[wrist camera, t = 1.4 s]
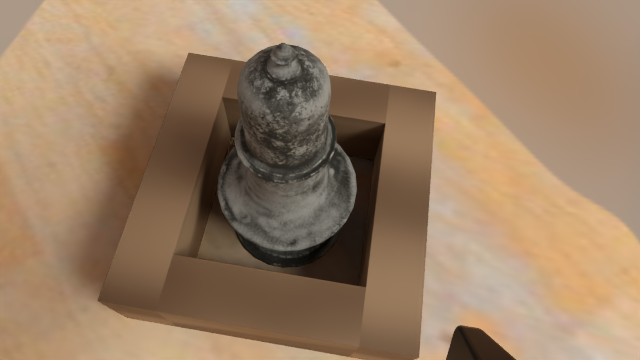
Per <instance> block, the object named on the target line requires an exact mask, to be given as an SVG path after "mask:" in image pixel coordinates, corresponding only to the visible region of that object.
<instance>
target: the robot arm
mask: <svg viewBox="0 0 640 360" xmlns="http://www.w3.org/2000/svg"><path fill="white" fill-rule="evenodd" d="M446 360H516V359H515V358H513V357H512V356H511V355H510V354H509V353H508V352H507V351H506V350H504V349H503V348H502V347H501V346H500V345H499V344H498V343H496V342H495V341H494V340H493V339H492V338H491V337H490V336H488V335H487V334H486V333H485V332H484V331H483V330H481V329H479V328H474V327H468V326H462V325H460V326H458V327H456V329H455V331H454V334H453V337H452V341H451V344H450V348H449V351H448V355H447V358H446Z"/></svg>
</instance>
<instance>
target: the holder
mask: <svg viewBox="0 0 640 360" xmlns="http://www.w3.org/2000/svg"><path fill="white" fill-rule="evenodd" d="M246 63H247V62H243V61H237V60H231V59H225V58H218V57H212V56H206V55H199V54H193V53H188V56H187V59H186V61H185V64H184V67H183V69H182V72H181V75H180V78H179V80H178V83H177V86H176V89H175V91H174V94H173V97H172V99H171V102H170V105H169V108H168V110H167V113H166V116H165V119H164V121H163V124H162V127H161V129H160V132H159V135H158V138H157V140H156V143H155V146H154V148H153V151H152V154H151V157H150V159H149V162H148V165H147V168H146V170H145V173H144V176H143V178H142V181H141V184H140V187H139V189H138V192H137V195H136V197H135V200H134V203H133V206H132V208H131V211H130V214H129V217H128V219H127V222H126V225H125V227H124V230H123V233H122V236H121V238H120V241H119V244H118V246H117V249H116V252H115V255H114V257H113V260H112V263H111V266H110V268H109V271H108V274H107V276H106V279H105V282H104V285H103V287H102V290H101V293H100V295H99V298H98V301H99V302H100V303H102V304H104V305H106V306H108V307H109V308H111V309H113V310H115V311H116V312H118V313H120V314H122V315H124V316H125V317H127V318H132V319H137V320H143V321H149V322H154V323H160V324H166V325H172V326H177V327H183V328H189V329H194V330H200V331H206V332H211V333H217V334H223V335H228V336H234V337H240V338H245V339H251V340H257V341H262V342H268V343H274V344H279V345H285V346H291V347H296V348H302V349H308V350H313V351H319V352H325V353H330V354H336V355H342V356H347V357H353V358H359V359H364V360H414V359H416V358H419V350H420V334H421V319H422V303H423V288H424V272H425V257H426V241H427V226H428V210H429V195H430V179H431V163H432V148H433V132H434V117H435V101H436V92H432V91H425V90H419V89H413V88H407V87H400V86H394V85H388V84H381V83H375V82H369V81H363V80H356V79H350V78H344V77H337V76H331V75H329V78H330V82H331V99H330V107H329V115H330V116H331V118H332V120H333V122H334V125H335V128H336V136H337V142H336V143H337V144H338V145H340V147H341V148H342V149H343V151H344V152H345V153H346V155H347V156H353V157H359V158H365V159H371V160H374V165H373V173H372V181H371V189H370V197H369V205H368V213H367V221H366V228H365V236H364V244H363V252H362V260H361V268H360V276H359V284H358V286H355V285H349V284H343V283H337V282H331V281H326V280H320V279H314V278H308V277H302V276H297V275H291V274H285V273H279V272H273V271H267V270H262V269H256V268H250V267H244V266H238V265H233V264H227V263H221V262H215V261H209V260H204V259H198V258H197V254H198V251H199V247H200V244H201V240H202V237H203V233H204V230H205V226H206V223H207V219H208V216H209V212H210V209H211V205H212V202H213V198H214V195H215V191H216V188H217V184H218V176H219V173H220V170H221V168H222V165H223V162H224V160H225V156H226V153H227V149H228V146H229V142H230V139H231V137H235V131H236V128H237V125H238V122H239V120H240V118H241V112H240V107H239V102H238V96H237V86H238V79H239V76H240V73H241V70H242V68H243V67H244V65H245V64H246Z"/></svg>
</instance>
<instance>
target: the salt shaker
mask: <svg viewBox="0 0 640 360" xmlns="http://www.w3.org/2000/svg"><path fill="white" fill-rule="evenodd" d="M237 96H238V102H239V107H240V112H241V118H240V120H239V122H238V125H237V128H236V131H235V147H234V148H233V149H232V150H231V152H230V153H229V154H228V156H227V157H226V159H225V160H224V162H223V165H222V168H221V170H220V173H219V176H218V192H217V194H218V198H219V202H220V206H221V210H222V212H223V214H224V216H225V217H226V219H227V220H228V222H229V224H230V225H231V227H232V228H233V229H235V230H236V231H237V235H238V237H239V239H240V241H241V242H242V244H243V246H244V247H245V249H247V250H248V251H249V252H250V253H251V254H252V255H253V256H254V257H255V258H257V259H259V260H261V261H263V262H265V263H266V264H269V265H273V266H278V267H282V268H285V267H299V266H302V265H306V264H309V263H312V262H314V261H315V260H317V259H318V258H320V257H322V256H323V255H325V253H326V252H327V251H328V250H329V249H330V248H331V247H332V246H333V245H334V243H335V241H336V239H337V237H338V235H339V233H340V230H341V227H342V226H343V225H344V224H345V222H346V221H347V219H348V217H349V215H350V213H351V211H352V209H353V207H354V203H355V197H356V192H357V185H356V174H355V171H354V169H353V166H352V164H351V161H350V159H349V157H348V156H347V155H346V153H345V152H344V151H343V149H342V148H341V147H340V145H338V144H337V143H336V142H337V136H336V128H335V125H334V122H333V120H332V118H331V116H330V115H329V107H330V99H331V82H330V78H329V74H328V72H327V69H326V67H325V66H324V64H323V63H322V62H321V60H320V59H319V58H318V57H316V56H315V55H314V54H312V53H311V52H309V51H308V50H306V49H303V48H301V47H299V46H294V45H287V44H285V43H281V44H279V45H275V46H271V47H268V48H266V49H264V50H262V51H260V52H258V53H257V54H255V55H254V56H253V57H252V58H250V59H249V60H248V61H247V63H246V64H245V65H244V67H243V68H242V70H241V73H240V76H239V79H238V86H237Z"/></svg>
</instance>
